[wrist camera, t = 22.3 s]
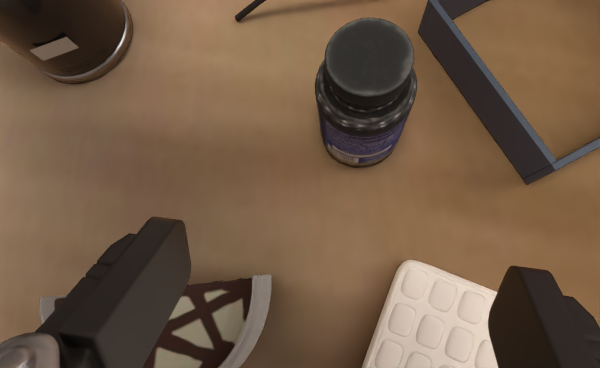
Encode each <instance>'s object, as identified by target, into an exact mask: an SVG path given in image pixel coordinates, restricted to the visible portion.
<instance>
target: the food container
mask: <svg viewBox="0 0 600 368" xmlns="http://www.w3.org/2000/svg"><path fill="white" fill-rule="evenodd" d="M66 296H67V295H64V296H50V297H40V318H41V324H43V323H44V322H45V320H46V319H47V318H48V317H49V316H50V315H51V314H52V312H53V311H54V310H55V309H56V308H57V307H58V305H59V304H60V303H61V302H62V301H63V300H64V299H65V297H66ZM270 297H271V275H252V278H249V279H242V278H240V279H238V280H231V281H215V282H211V283H202V284H194V285H187V287H186V289H185V291H184V292H183V294H182V296H181V298H180V300H179V302H178V303H177V305H176V307H175V309H174V311H173V312H172V314H171V316H170V318H169V320H168V322H167V323H166V325H165V327H164V329H163V331H162V333H161V334H160V336H159V338H158V340H157V342H156V344H155V345H154V347H153V349H152V351H151V353H150V355H149V356H148V358H147V360H146V362H145V364H144V365H143V367H142V368H239V367H240V366H241V365H242V364H243V363H244V362H245V360H246V359H247V357H248V356H249V354H250V353H251V351H252V350H253V348H254V347H255V345H256V343H257V340H258V338H259V336H260V334H261V332H262V330H263V327H264V324H265V320H266V317H267V314H268V310H269V304H270Z"/></svg>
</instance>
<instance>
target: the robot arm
mask: <svg viewBox="0 0 600 368" xmlns="http://www.w3.org/2000/svg"><path fill="white" fill-rule="evenodd" d="M131 36H132V19H131V16H130V13H129V11H128V9H127V7H126V6H125V5H124V3H123V2H122V1H121V0H0V41H2V42H3V43H5V44H6V45H7V46H9V47H10V48H12V49H13V50H14V51H16V52H17V53H19V54H20V55H21V56H23V57H24V58H26V59H27V60H29V61H30V62H31V63H33V64H34V65H35V66H36V67H37V68H38V69H39V70H41V71H42V72H44V73H45V74H46V75H48V76H49V77H51V78H53V79H55V80H58V81H61V82H65V83H81V82H86V81H90V80H92V79H95V78H97V77H99V76H101V75H103V74H105V73H106V72H108V71H109V70H110V69H112V68H113V67H114V66H115V65H116V64H117V63H118V62H119V61H120V59H121V58H122V57H123V55H124V54H125V52H126V50H127V48H128V46H129V43H130V40H131ZM190 273H191V261H190V254H189V248H188V241H187V235H186V229H185V224H184V222H183V221H182V220H176V219H169V218H161V217H151V218H150V219H149V220H148V221H147V222H146V223H145V225H144V226H143V227H142V228H141V229H140V231H139V232H138V233H137V234H130V233H129V234H128V235H126V236H125V237H123V238H121V239H120V240H118V241H117V242H115V243H114V244H112V245H111V246H110V247H109V248H108V249H107V250H106V251H105V252H104V254H103V255H102V256H101V257H100V258H99V259H98V260H97V264H94V265H93V266H92V267H91V269H90V270H89V271H88V272H87V273H86V277H83V278H82V279H81V280H80V281H79V282H78V284H77V285H76V286H75V287H74V288H73V289H72V290H71V292H70V293H69V294H68V295H67V296H66V297H65V299H64V300H63V301H62V302H61V303H60V304H59V305H58V307H57V308H56V309H55V310H54V311H53V312H52V314H51V315H50V316H49V317H48V318H47V319H46V320H45V322H44V323H43V324H42V325H41V326H40V327H39V328H38V329H37V330H36V331H35V332H32V333H25V334H21V335H18V336H15V337H12V338H10V339H8V340H6V341H4V342H2V343H1V344H0V368H142V367H143V365H144V364H145V362H146V360H147V358H148V356H149V355H150V353H151V351H152V349H153V347H154V345H155V344H156V342H157V340H158V338H159V336H160V334H161V333H162V331H163V329H164V327H165V325H166V323H167V322H168V320H169V318H170V316H171V314H172V312H173V311H174V309H175V307H176V305H177V303H178V302H179V300H180V298H181V296H182V294H183V292H184V291H185V289H186V287H187V284H188V282H189V278H190ZM488 330H489V336H490V340H491V343H492V347H493V350H494V354H495V357H496V361H497V365H498V368H600V327H599V326H598V324H597V322H596V320H595V319H594V317H593V316H592V315H591V314H590V313H589V312H588V311H587V310H586V309H585V308H584V307H583V306H582V305H581V304H580V303H579V302H578V301H577V300H575V299H574V298H573V297H569V296H563V294H562V292H561V290H560V289H559V287H558V285H557V283H556V281H555V279H554V277H553V275H552V274H551V273H550V272H549V271H547V270H541V269H533V268H526V267H519V266H511V267H509V268H508V270H507V272H506V274H505V276H504V278H503V281H502V283H501V285H500V288H499V290H498V292H497V295H496V297H495V299H494V302H493V304H492V306H491V309H490V312H489V318H488Z"/></svg>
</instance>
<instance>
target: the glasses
mask: <svg viewBox="0 0 600 368" xmlns="http://www.w3.org/2000/svg"><path fill="white" fill-rule="evenodd" d="M264 1H266V0H255V1H254V2H252V3H251V4H250V5H248V6H247V7H246V8H245V9H243V10H242V11H241V12H240V13H238V14H237V15H236V16H235V19H236V20H237V21H240V20H241V19H243V18H244V17H245V16H246V15H247V14H249V13H250V12H251V11H252V10H254V9H255V8H256V7H257V6H259V5H260V4H261V3H263V2H264Z"/></svg>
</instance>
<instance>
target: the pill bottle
mask: <svg viewBox="0 0 600 368" xmlns="http://www.w3.org/2000/svg"><path fill="white" fill-rule="evenodd" d="M413 64H414V50H413V46H412V43H411V41H410V39H409V37H408V36H407V34H405V32H404V31H403V30H402V29H401V28H399V27H398V26H397V25H395V24H394V23H392V22H389V21H386V20H384V19H381V18H380V19H377V18H361V19H357V20H354V21H352V22H349V23H347V24H346V25H344V26H343V27H341V28H340V29H339V30H338V31H337V32H335V34H334V35H333V36H332V38H331V39H330V41H329V43H328V45H327V48H326V52H325V59H324V61H323V62H322V64H321V66H320V67H319V70H318V73H317V77H316V81H315V94H316V101H317V108H318V115H319V123H320V130H321V136H322V139H323V143H324V145H325V147H326V149H327V151H328V152H329V153H330V154H331V155H332V156H333V157H334V158H335V159H337V160H338V161H339V162H341V163H344V164H346V165H350V166H353V167H365V166H371V165H374V164H377V163H379V162H381V161H382V160H384V159H385V158H387V157H388V156H389V155H390V154H391V153H392V151H393V150H394V148H395V146H396V144H397V142H398V140H399V137H400V135H401V132H402V130H403V127H404V125H405V122H406V120H407V117H408V115H409V112H410V110H411V108H412V105H413V103H414V100H415V96H416V91H417V79H416V74H415V71H414V68H413Z"/></svg>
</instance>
